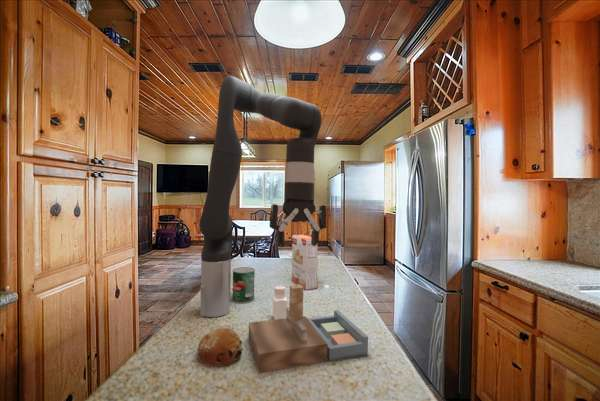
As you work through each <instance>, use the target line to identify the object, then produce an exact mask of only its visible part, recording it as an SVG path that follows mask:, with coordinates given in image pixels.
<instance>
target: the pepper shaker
mask: <svg viewBox="0 0 600 401" xmlns="http://www.w3.org/2000/svg"><path fill="white" fill-rule="evenodd" d="M287 307H288V298H287V296H286V287H285V286H283V285H279V286H278V285H277V286H275V287H274V296H273V297H272V317H273V320H276V319H285V318H286V308H287Z"/></svg>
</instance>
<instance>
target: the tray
mask: <svg viewBox="0 0 600 401" xmlns="http://www.w3.org/2000/svg"><path fill="white" fill-rule="evenodd" d="M307 319H308V320H309V321H310V323H311V324H312V325H313V326H314V328H315V329H316V330H317V331H318V333H319V334H320V335H321V336H322V338H323V339H324V340H325V341H326V343H327V361H328V362H337V361H341V360H347V359H352V358H353V359H354V358H360V357H364V356H368V355H369V352H368V351H369V348H368V347H369V336H368V335H367V334H365V332H364V331H362V330H361V329H360V328H359V327H358V326H356V324H354V323H353V322H352V321H351V320H350V319H349V318H347V316H345V315H344V314H343V313H342V312H341V311H340V310H339V309H335V310H333V315H326V316H325V315H324V316H319V317H318V316H317V317H311V318H310V317H309V318H308V317H307ZM332 322H338V323H339V324H340V325H341V326H342V327H343V328H344V329H345V333H349V334H350V335H351V336H352V337H353V338H354V339H355V340H356V341H357V342H352V343H346V344H339V345H333V344H332V342H331V337H330V338H327V337H326V335H325V334H324V333H323V332H322V331H321V324H324V323H332Z"/></svg>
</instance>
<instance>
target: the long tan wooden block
mask: <svg viewBox="0 0 600 401" xmlns="http://www.w3.org/2000/svg"><path fill="white" fill-rule="evenodd" d="M288 301H289V302H288V304H289V307H288V306H287V308H286V319H287V320H288V322H289V323H290V325H291V326H292V328H293V329H294V331H295V333H296V334H297V336H298V337H299V339H300V340H301V342H302V343H303V342H307V328H306V327H305V326H304V324H303V323H302V322H301V320H300V319H303V316H304V289H303V287H302V286H301V285H300V284H299V285H297V284H289V300H288Z"/></svg>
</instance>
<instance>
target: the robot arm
mask: <svg viewBox="0 0 600 401" xmlns="http://www.w3.org/2000/svg"><path fill="white" fill-rule="evenodd" d="M218 95H219V96H218V104H217V105H218V107H217V116H216V117H217V118H216V119H217V120H216V121H217V122H216V129H215V134H214V135H215V136H214V143H213V147H212V153H211V157H210V166H209V174H208V180H207V192H206V197H205V201H204V205H203V209H202V211H201V215H200V220H199V229H200V232H201V234H202V236H203V237H204V239H203V246H202V250H201V254H200V256H201V260H200V262H201V263H200V264H201V266H200V269H201V270H200V271H201V272H200V308H199V309H200V310H199V311H200V314H199V315H200V316H199V317H207V318H217V317H218V318H219V317H222V316H225V315H227V314H229V313H230V311H231V276H232V275H231V274H232V272H231V271H232V270H231V266H232V260H231V259H232V249H233V232H234V231H233V229H234V226H233V224H234V223H233V219H232V216H231V215H230V205H231V204H230V203H231V197H232V194H233V191H234V188H235V185H236V182H237V180H238V176H239V173H240V169H241V163H242V156H243V149H242V145H241V142H240V139H239V136H238V133H237V130H236V127H235V120H234V111H235V110H236V111H237V112H241V113H245V114H246V113H248V114H249V113H250V114H258V115H261V116H262V117H264V118H266V119H269V120H271V121H274V122H275V123H279V124H280V125H282V126H284V127H286V128H290V129H294V130H298V131H299V134H298V136H297V137H298V138H297V137H295V138H292V139H289V140H288V141H287V143H286V148H285V152H286V154H285V159H286V160H285V168H284V185H283V186H284V188H283V189H284V190H283V192H284V193H283V194H284V195H283V204H277V203H273V204H271V207H270V214H269V215H270V216H269V228H270V229H272V230H276V243H277V244H278V245H279V246H278V247H280V248H284V247H285V231H284V230H285V229H286V227H288V225H290V223H291V222H293V223H298V222H302V223H306V222H307V225H308V224H309V226H310V227H311V229H312V230H311V236H310V237H311V245H313V246H316V245H317V244H319V243H320V231H321V230H324V229H327V206H326V205H324V204H319V205H316V204H315V183H316V182H315V181H316V177H315V176H316V175H315V174H316V172H315V147H316V144H317V140H318V136H319V133H320V129H321V125H322V122H323V121H322V119H323V118H322V113H321V110H320V109H319V107H318V106H317V105H316V104H313V103H310V102H307V101H305V100H302V99H299V98H296V97H290V96H285V95H282V94H278V93H274V92H265V93H264V92H262V91H260V90H258V89H257V88H256V87H254V86H253V85H252V84H250V83H248V82H246V81H244V80H242V79H240V78H237V77H236V76H233V75H227V76H226V77H224V79H223V81H222V82H221V85H220V89H219V94H218ZM281 210H282V211H283V213H284V216H283V217H282V218H281V221H280V222H279V223H278V214H280V213H281ZM315 211H316V214H318V219H317V220H318V223H317V221H316V219H315V218H314V216H313V214H314V213H315Z"/></svg>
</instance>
